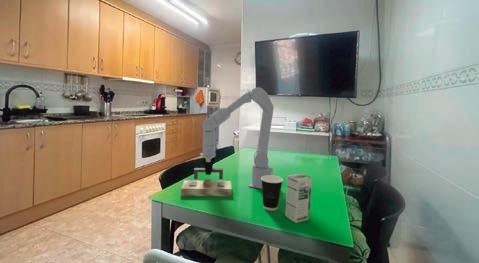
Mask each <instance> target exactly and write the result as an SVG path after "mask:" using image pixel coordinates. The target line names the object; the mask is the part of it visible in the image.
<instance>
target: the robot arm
mask: <svg viewBox="0 0 479 263" xmlns="http://www.w3.org/2000/svg"><path fill="white" fill-rule="evenodd" d="M252 101H253V102H254V103H256V104H257V105H258V106H259V107H260V108H261V109H262V114H261V122H260V128H259V133H258V140H257V141H258V142H257V148H256V150H255V152H254V154H253V164H252V168H251V169H252V171H251V172H252V173H251V183H250V184H249V185H248V187H249V188H255V189H256V188H257V189H261V190H262V180H261V177H262V176H266V175H273V176H274V168H272V167H269V157H268V150H269V149H268V148H269V142H270V136H271V135H270V134H271V128H272V122H273V117H274V116H273V115H274V105H273V103H272V100H271V98H270V96H269V93H267V91H266V90H265V89H263V88H262V87H260V86H258V87H254V88H253V89H252V90H248V91H247V92H245V93H243V94H242V95H240V97H238V98H237V99H235V100H234V101H233V102H232V103H231V104H230V105H228V106H226V107H224V106H222V107H218V108H217V109H216V111H215V112H214V113H212V114H209V115H208V117H209V118H208V117H207V118H204V120H203V121H202V123H201V127H202V129H203V130H202V153H199V156H200V157H202V164H203V165H204V168H205V172H204V173H205V175H206V176H209V175H210V176H211V175H212V173H213V172H212V168H214V167H213V166H214V163H215V162H216V156H217V154H216V138H217V135H216V128H217V126H221V125H222V124H223V123H225V122H226V121H227V120H228V119H229V120H230V118H231V114H232V113H234V112H235V111H236V110H237V109H239V108H240V107H241V106H243V105H244V104H246V103H252Z"/></svg>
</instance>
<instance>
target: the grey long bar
mask: <svg viewBox="0 0 479 263" xmlns="http://www.w3.org/2000/svg"><path fill="white" fill-rule="evenodd" d="M199 173H206V172H205V167H195V168H193V180H199V179H198V178H199ZM211 173H219V174H218V180H223V179H224V168H222V167H221V168H219V167H218V168H217V167H212V172H211Z"/></svg>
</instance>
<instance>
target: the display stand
mask: <svg viewBox="0 0 479 263" xmlns="http://www.w3.org/2000/svg"><path fill="white" fill-rule="evenodd" d="M232 190H233V188H232V181H231V180H212V179H211V178H210V179H208V178H207V179H206V178H204V179H203V180H196V179H193V180H191V179H190V180H185V179H184V180H183V183H182V186H181V188H180V197H232Z"/></svg>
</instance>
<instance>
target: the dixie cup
mask: <svg viewBox="0 0 479 263" xmlns="http://www.w3.org/2000/svg"><path fill="white" fill-rule="evenodd" d="M261 180H262V189H261V190H262V193H261V195H262V206H263V208H264V209H265V210H266V211H270V212H271V211H277V210H278V206H279V203H280V202H279V201H280V196H281V192H282V191H281V189H282V185H283V182H284V179H283V177H281V176H278V175H274V174H273V175H266V176H262V177H261Z"/></svg>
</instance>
